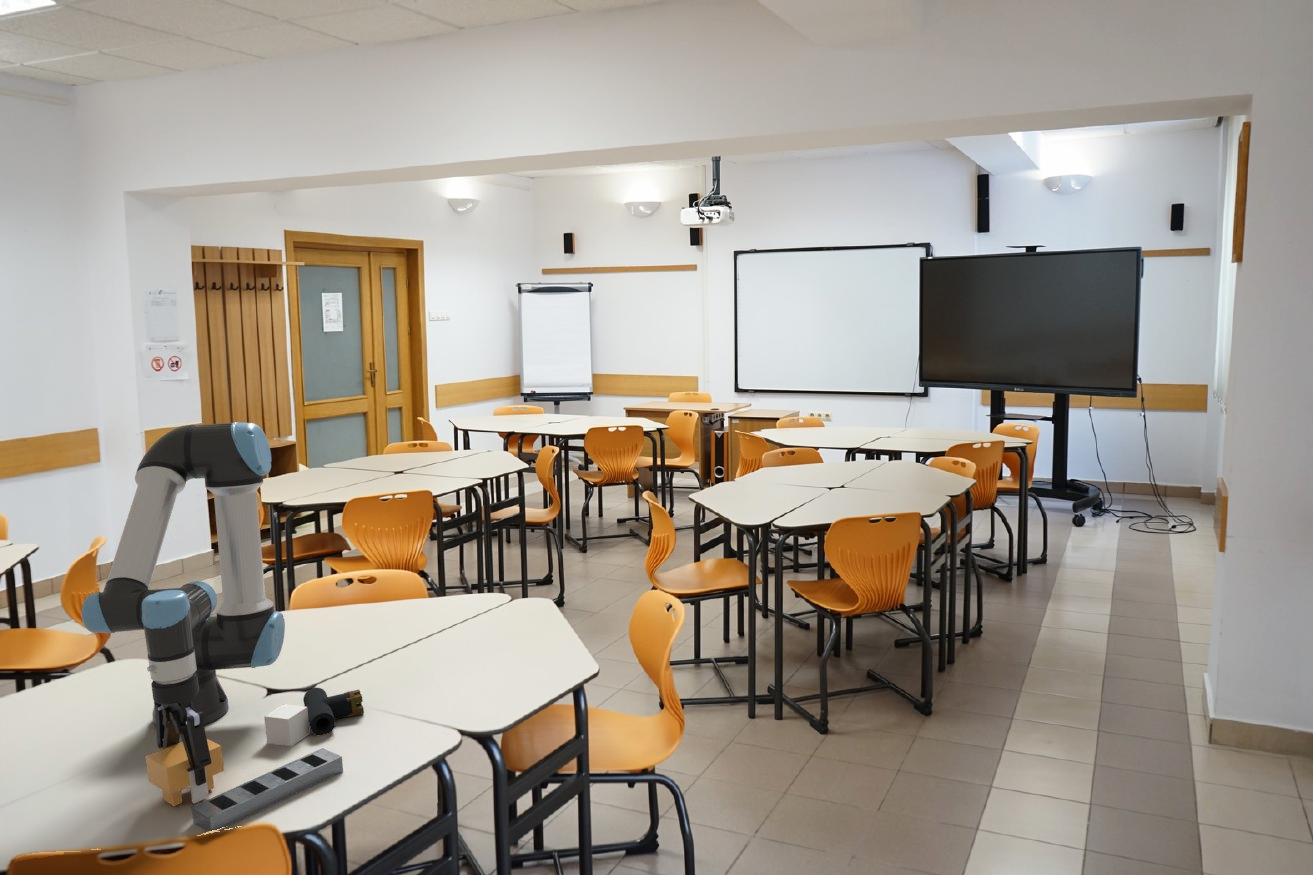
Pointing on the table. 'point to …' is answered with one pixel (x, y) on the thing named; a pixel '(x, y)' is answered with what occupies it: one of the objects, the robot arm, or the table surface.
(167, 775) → the tan notched block
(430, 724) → the table surface
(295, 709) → the white cube
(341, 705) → the pipe connector
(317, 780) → the rail
